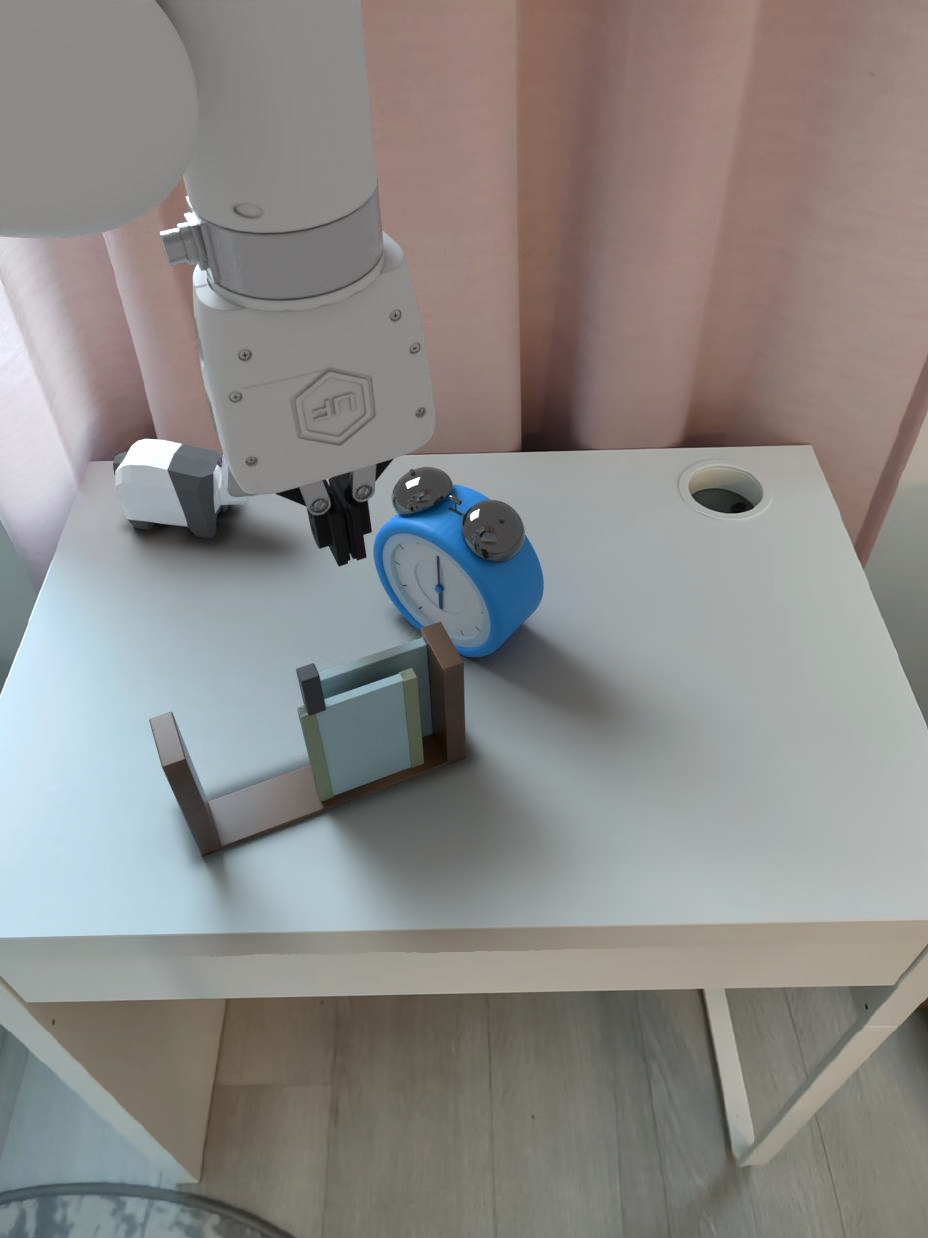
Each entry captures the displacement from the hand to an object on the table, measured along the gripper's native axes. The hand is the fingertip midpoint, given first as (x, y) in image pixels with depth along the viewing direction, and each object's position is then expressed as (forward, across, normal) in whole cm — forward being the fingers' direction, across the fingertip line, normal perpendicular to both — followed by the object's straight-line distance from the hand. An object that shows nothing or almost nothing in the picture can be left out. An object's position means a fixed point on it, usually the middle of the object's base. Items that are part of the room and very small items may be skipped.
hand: (343, 545), depth 55 cm
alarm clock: (+25, +11, +12) cm, 30 cm away
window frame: (+25, -4, +1) cm, 25 cm away
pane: (+23, -1, 0) cm, 24 cm away
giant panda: (+25, -6, +33) cm, 42 cm away
